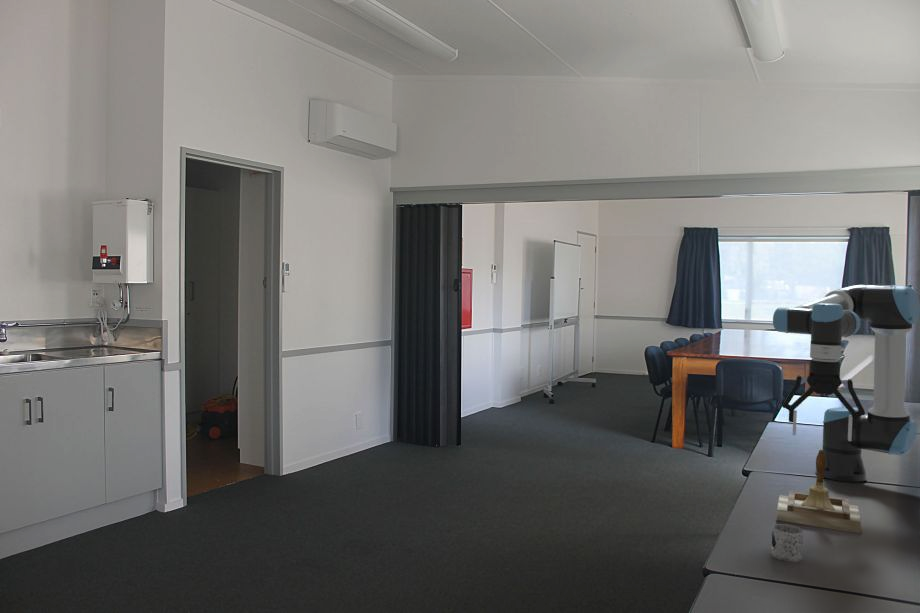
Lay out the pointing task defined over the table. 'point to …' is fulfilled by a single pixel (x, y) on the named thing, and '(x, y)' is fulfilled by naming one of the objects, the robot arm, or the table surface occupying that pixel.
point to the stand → (819, 513)
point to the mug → (787, 542)
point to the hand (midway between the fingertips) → (821, 437)
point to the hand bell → (819, 487)
